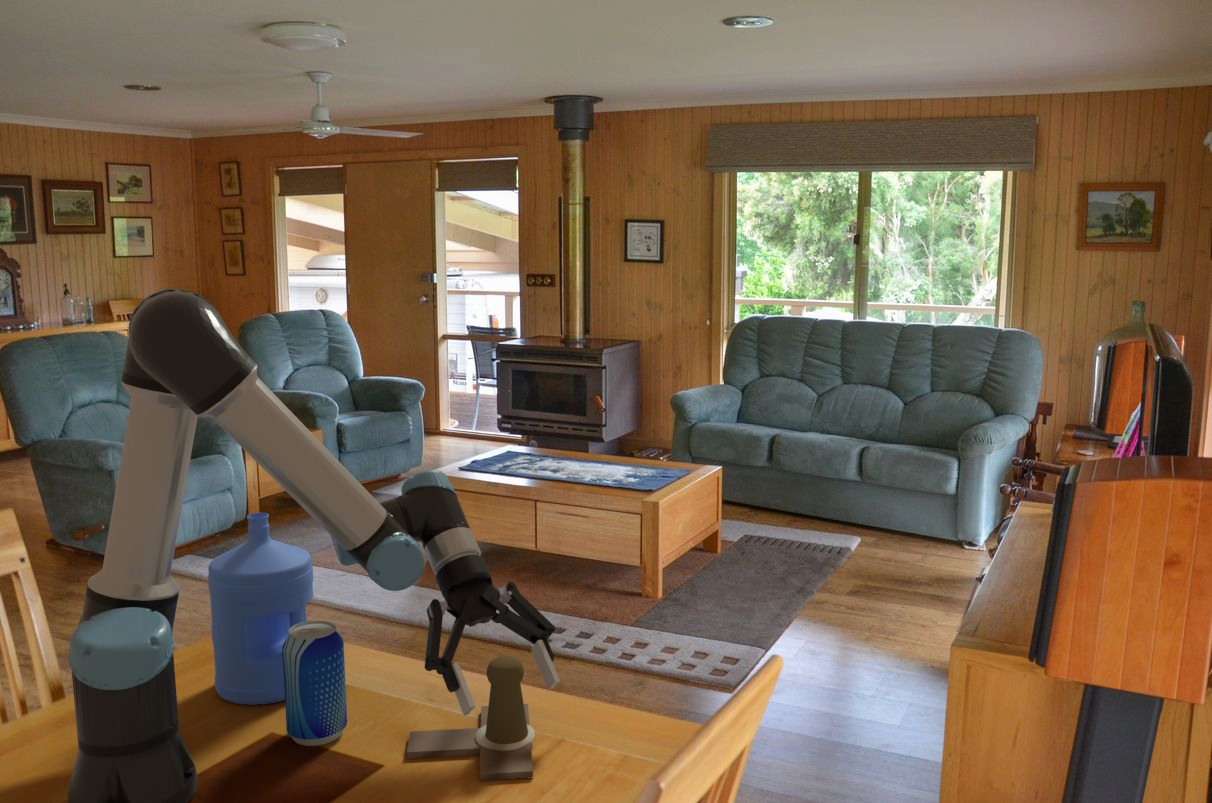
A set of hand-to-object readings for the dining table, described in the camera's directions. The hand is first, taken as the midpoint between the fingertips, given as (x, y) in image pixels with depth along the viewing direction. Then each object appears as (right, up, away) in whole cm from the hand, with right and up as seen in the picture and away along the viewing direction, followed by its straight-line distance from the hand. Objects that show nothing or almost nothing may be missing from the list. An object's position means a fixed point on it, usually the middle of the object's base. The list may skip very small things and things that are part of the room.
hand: (513, 698), depth 144 cm
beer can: (-29, -7, +6) cm, 30 cm away
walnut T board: (-6, -7, +3) cm, 10 cm away
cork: (-1, -6, +3) cm, 7 cm away
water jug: (-41, -4, +22) cm, 47 cm away
